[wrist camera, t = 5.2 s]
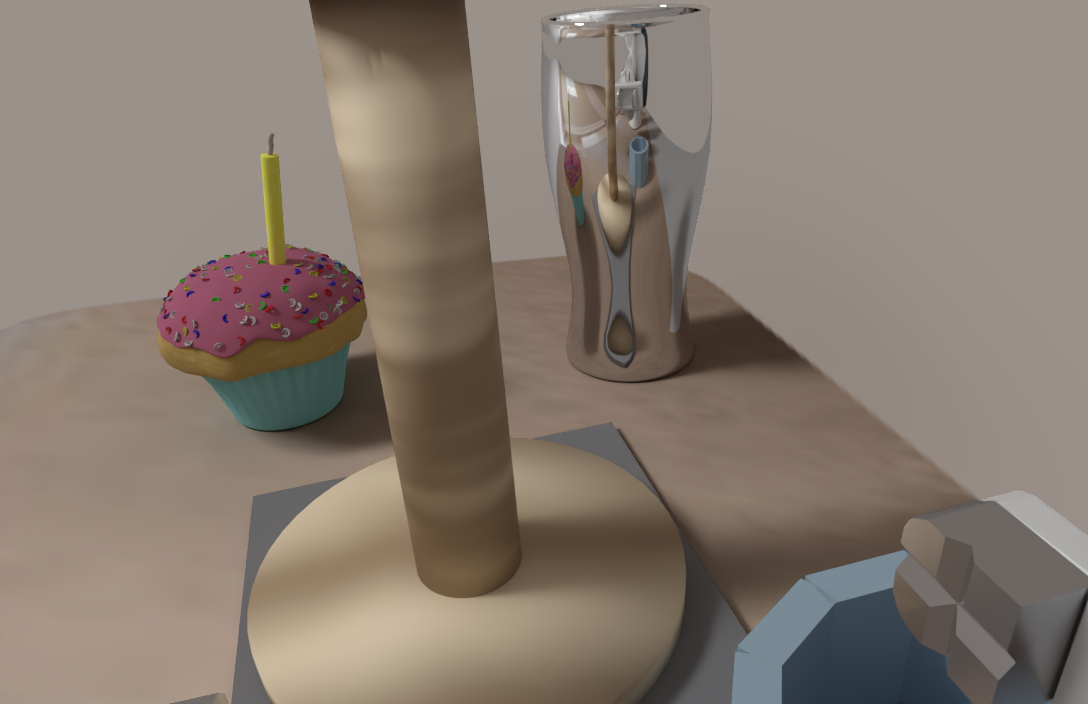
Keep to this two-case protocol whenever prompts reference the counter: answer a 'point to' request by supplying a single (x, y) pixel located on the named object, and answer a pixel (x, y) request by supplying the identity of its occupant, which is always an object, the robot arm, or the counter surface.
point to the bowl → (841, 645)
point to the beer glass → (628, 177)
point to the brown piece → (451, 442)
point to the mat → (709, 623)
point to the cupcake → (267, 324)
